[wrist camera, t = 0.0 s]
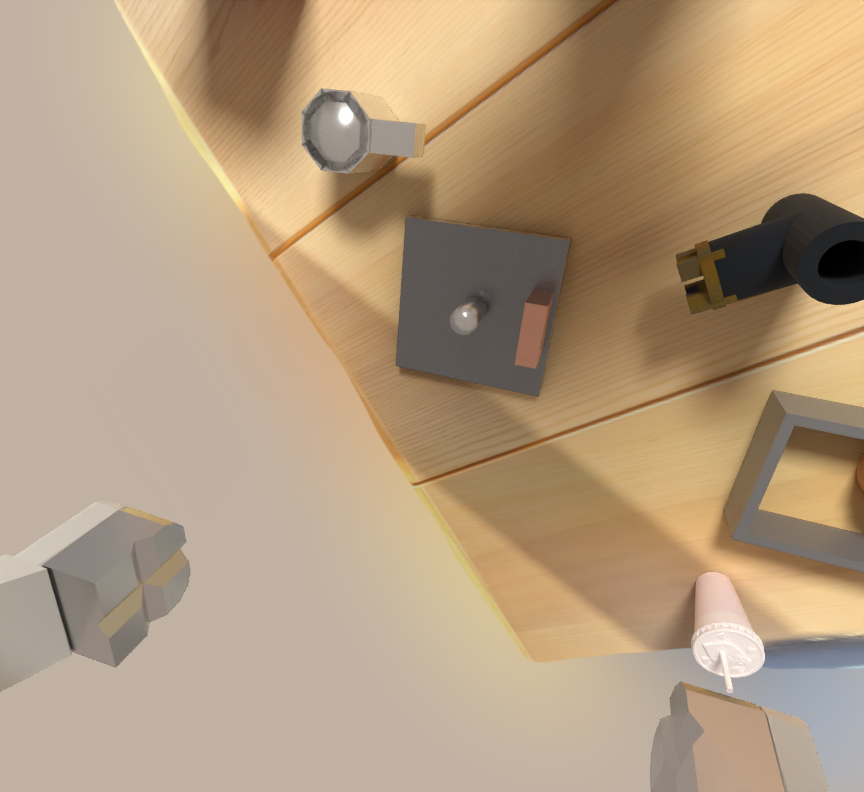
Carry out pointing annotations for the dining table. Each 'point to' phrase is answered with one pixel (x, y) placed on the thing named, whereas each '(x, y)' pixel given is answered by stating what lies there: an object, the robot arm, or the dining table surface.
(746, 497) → the parts corral
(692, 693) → the robot arm
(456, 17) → the dining table surface
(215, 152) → the dining table surface
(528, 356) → the grey square stand
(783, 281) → the pipe connector
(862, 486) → the brown oblong hollow piece
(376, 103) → the octagonal handled mug
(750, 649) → the smoothie
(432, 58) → the dining table surface
